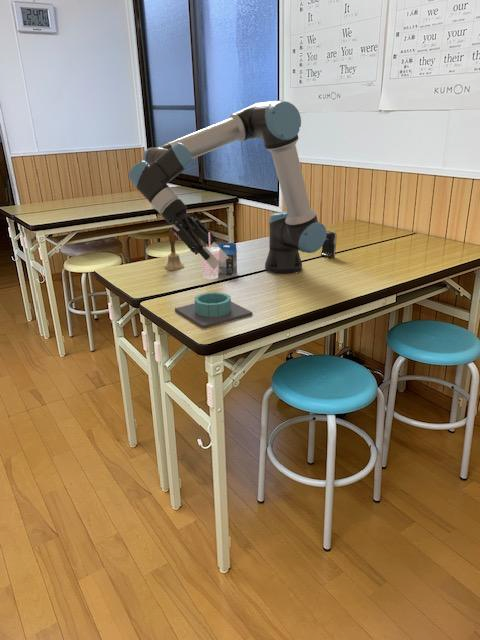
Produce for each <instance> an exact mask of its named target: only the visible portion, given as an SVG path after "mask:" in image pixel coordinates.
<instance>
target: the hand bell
mask: <svg viewBox="0 0 480 640" xmlns="http://www.w3.org/2000/svg"><path fill="white" fill-rule="evenodd" d="M168 232H169V233H168V241H169V244H170V254H168V256H167V262H166V264H165V265H164V269H165V270H167V271H178V269H179V270H182V269H184V268H185V265H184V264H183V263H182V261H181V258H180V255H179V253H176V247H175V243H176V235H175V234H176V233H175V232H174V231H173V230H172V229H169V231H168Z"/></svg>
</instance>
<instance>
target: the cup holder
mask: <svg viewBox="0 0 480 640" xmlns="http://www.w3.org/2000/svg"><path fill="white" fill-rule="evenodd" d="M174 311H175V313H177V314H179V315H180V316H182V317H184V318H185V319H187V320H189V321H190V322H192V323H193V324H195V325H197V326H198V327H200V329H203V328H204V329H208V328H211V327H214V326H218V325H221V323H222V324H225V322H226V323H228V321H229V322H232V320H233V321H236V319H237V320H240V319H243V317H244V318H247V317H251V316H253V312H252V311H251V310H249V309H247V308H245V307H243V306H241V305H239V304H238V303H235V302H233V301H232V298H231V296H230V295H229V294H227V293H223V292H217V291H215V292H205V293H200V294H198V295H196V296H194V303H191V304H187V305H183V306H179V307H175V308H174ZM250 315H251V316H250Z"/></svg>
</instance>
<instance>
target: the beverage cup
mask: <svg viewBox="0 0 480 640" xmlns="http://www.w3.org/2000/svg"><path fill="white" fill-rule="evenodd" d="M210 232H211V231H210ZM210 232H209V233H208V235H209V246H205V247H206V248H207V249H208V250H209V251H210V252H211V253H212V254H213V255H214V257H215V258H216V259H217V260H218V261H219V252H220V248H218V247H211V246H210ZM200 256H201V255H200ZM200 259H201V266H202V267H201V268H202V273H203V274H202V275H203V279H205V280H217V279H218V278H219V274H218V268H219V265H218V266H217V267H216V268H215V269H213V268H212V267H211V266H210V265H209V264H208V262H207V261H206V260H205V259H204V258H203V257H202V256H201V258H200Z"/></svg>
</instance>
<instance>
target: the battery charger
mask: <svg viewBox="0 0 480 640" xmlns="http://www.w3.org/2000/svg"><path fill="white" fill-rule="evenodd" d="M326 233H327V234H326V240H325V242H324V243H323V246H322V247H321V248H322V249H321V253H320V256H321V257H323V256H326V257H325V258H327V257H334V258H335V257H336V250H337V249H336V248H337V233H336V232H335V231H332V230H327V229H326Z"/></svg>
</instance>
